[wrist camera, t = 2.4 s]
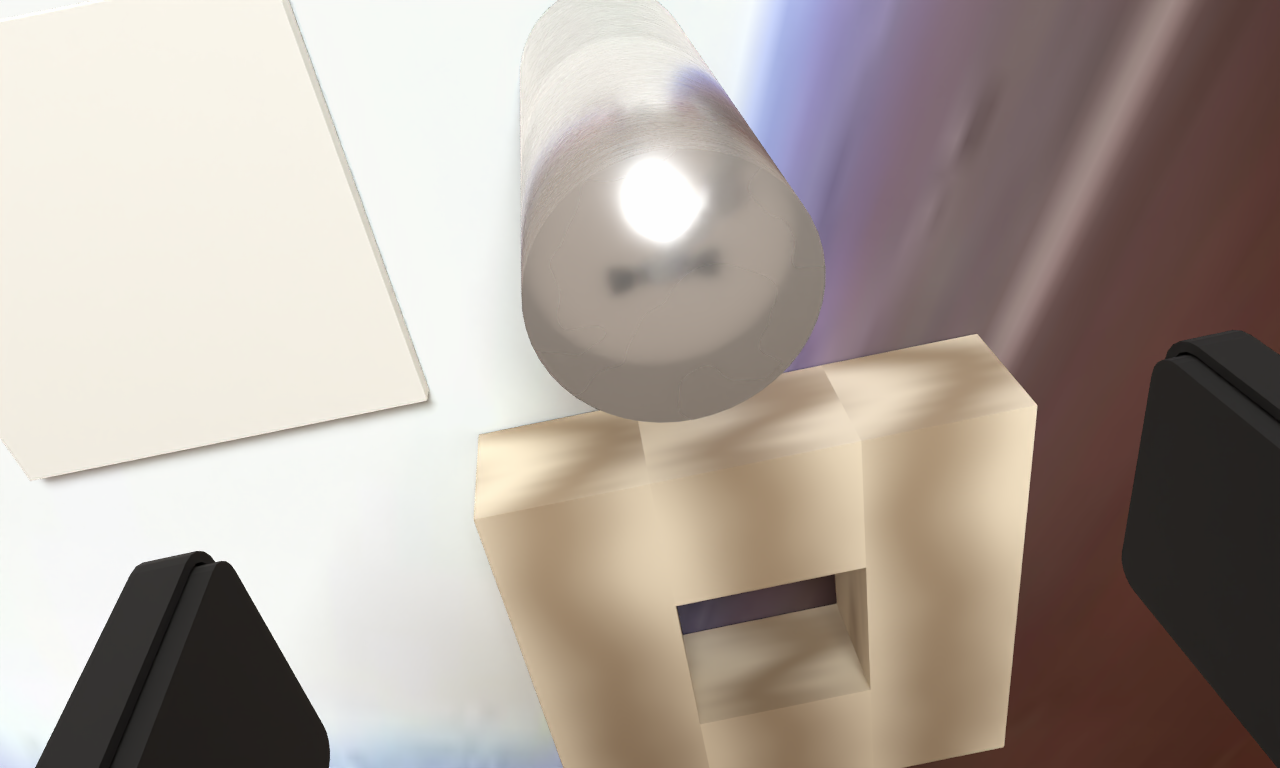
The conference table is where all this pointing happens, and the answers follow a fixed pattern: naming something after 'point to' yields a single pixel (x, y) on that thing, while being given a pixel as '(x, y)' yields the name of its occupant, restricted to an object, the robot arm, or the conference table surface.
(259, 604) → the conference table surface
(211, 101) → the mat
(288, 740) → the robot arm
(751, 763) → the socket block
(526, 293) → the steel cylinder
